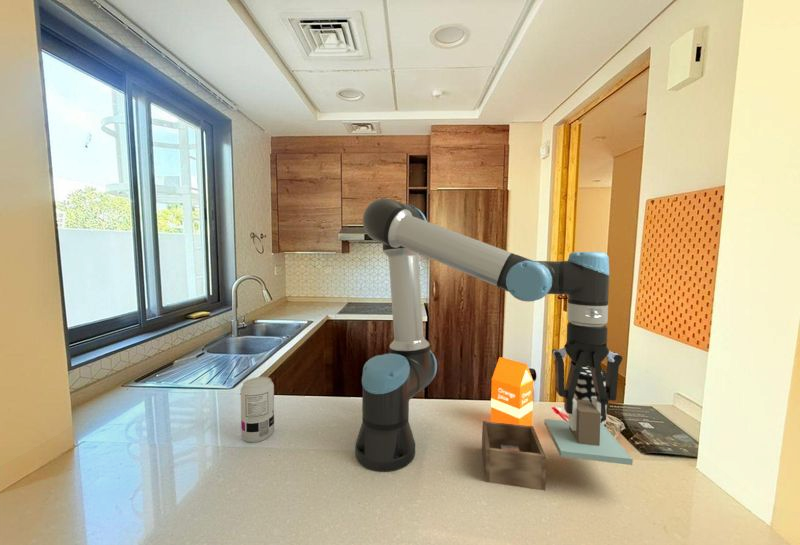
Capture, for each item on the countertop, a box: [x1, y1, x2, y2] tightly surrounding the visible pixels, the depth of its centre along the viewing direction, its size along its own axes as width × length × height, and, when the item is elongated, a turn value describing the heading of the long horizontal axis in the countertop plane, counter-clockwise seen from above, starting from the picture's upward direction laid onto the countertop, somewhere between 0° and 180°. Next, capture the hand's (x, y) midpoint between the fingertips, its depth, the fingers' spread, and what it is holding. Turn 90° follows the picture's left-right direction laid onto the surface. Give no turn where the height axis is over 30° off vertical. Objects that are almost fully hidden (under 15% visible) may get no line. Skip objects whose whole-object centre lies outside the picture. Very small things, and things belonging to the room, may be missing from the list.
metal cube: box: [501, 445, 520, 451], centre depth 72 cm, size 4×4×4 cm
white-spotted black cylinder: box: [574, 366, 608, 428], centre depth 81 cm, size 8×8×20 cm
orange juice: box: [490, 356, 534, 426], centre depth 90 cm, size 8×9×20 cm
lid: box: [543, 399, 634, 466], centre depth 69 cm, size 13×13×8 cm
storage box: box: [481, 420, 547, 491], centre depth 72 cm, size 12×12×8 cm
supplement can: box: [240, 376, 275, 443], centre depth 85 cm, size 8×8×15 cm
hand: (583, 428), depth 69 cm, fingers closed on lid, 4 cm apart
